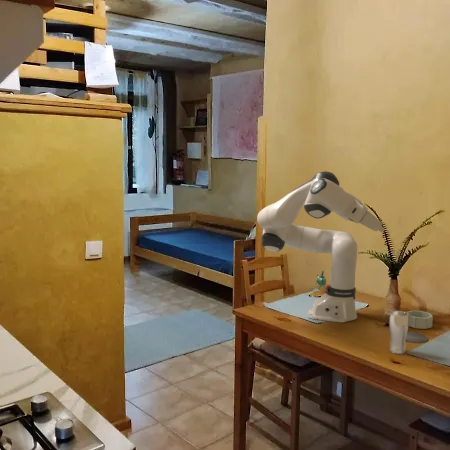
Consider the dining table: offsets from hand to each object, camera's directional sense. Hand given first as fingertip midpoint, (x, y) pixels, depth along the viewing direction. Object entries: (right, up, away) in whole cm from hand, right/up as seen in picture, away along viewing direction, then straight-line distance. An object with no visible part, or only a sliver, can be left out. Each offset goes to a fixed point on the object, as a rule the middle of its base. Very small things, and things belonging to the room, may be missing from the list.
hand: (377, 226), depth 188 cm
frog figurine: (-4, -37, +80) cm, 88 cm away
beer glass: (+9, -48, +5) cm, 49 cm away
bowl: (+28, -44, +33) cm, 62 cm away
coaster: (+20, -46, +19) cm, 53 cm away
